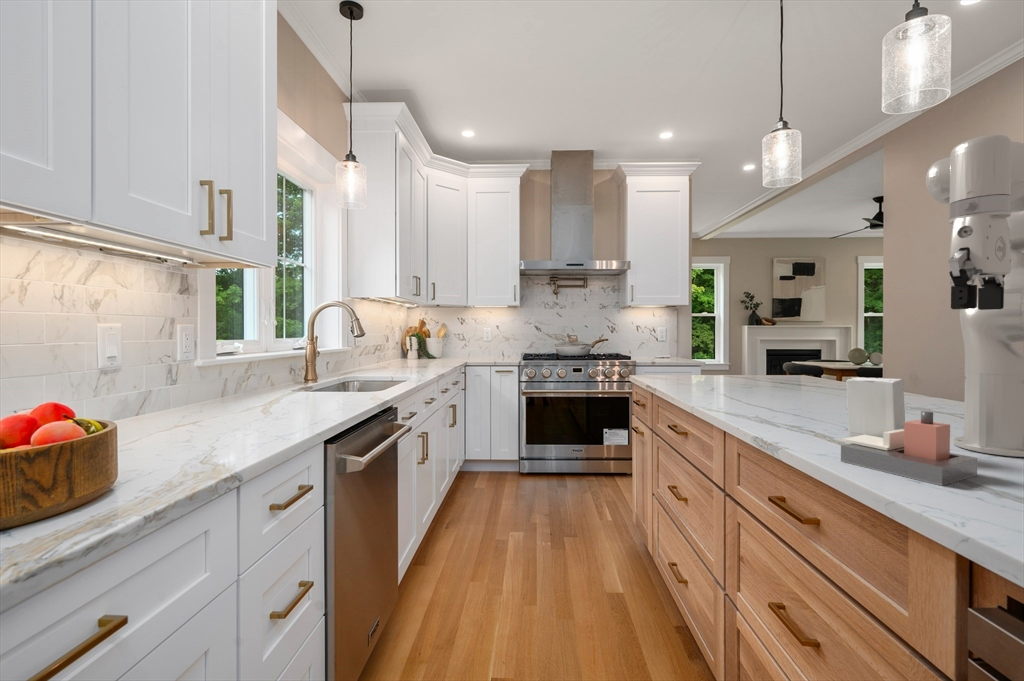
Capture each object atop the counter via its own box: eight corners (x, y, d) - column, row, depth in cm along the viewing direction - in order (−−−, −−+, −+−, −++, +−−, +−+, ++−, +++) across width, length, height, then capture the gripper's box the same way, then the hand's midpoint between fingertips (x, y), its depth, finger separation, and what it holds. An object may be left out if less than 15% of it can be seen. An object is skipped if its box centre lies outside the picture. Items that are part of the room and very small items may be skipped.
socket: (876, 453, 91) (876, 438, 91) (977, 475, 77) (977, 457, 77) (840, 461, 86) (840, 445, 86) (941, 485, 72) (942, 467, 72)
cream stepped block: (864, 437, 92) (865, 422, 92) (909, 445, 85) (910, 429, 85) (842, 441, 89) (842, 425, 89) (887, 450, 82) (887, 433, 82)
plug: (949, 470, 79) (950, 412, 78) (935, 474, 77) (936, 415, 77) (917, 463, 83) (918, 408, 83) (903, 466, 81) (904, 410, 81)
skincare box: (906, 452, 91) (907, 379, 91) (895, 457, 88) (896, 381, 88) (857, 444, 98) (857, 375, 98) (845, 448, 95) (845, 377, 95)
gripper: (984, 200, 73) (982, 307, 73) (1031, 211, 80) (1029, 308, 80) (926, 211, 80) (924, 309, 80) (974, 220, 87) (973, 310, 87)
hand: (977, 309), depth 80 cm, fingers open, 9 cm apart
